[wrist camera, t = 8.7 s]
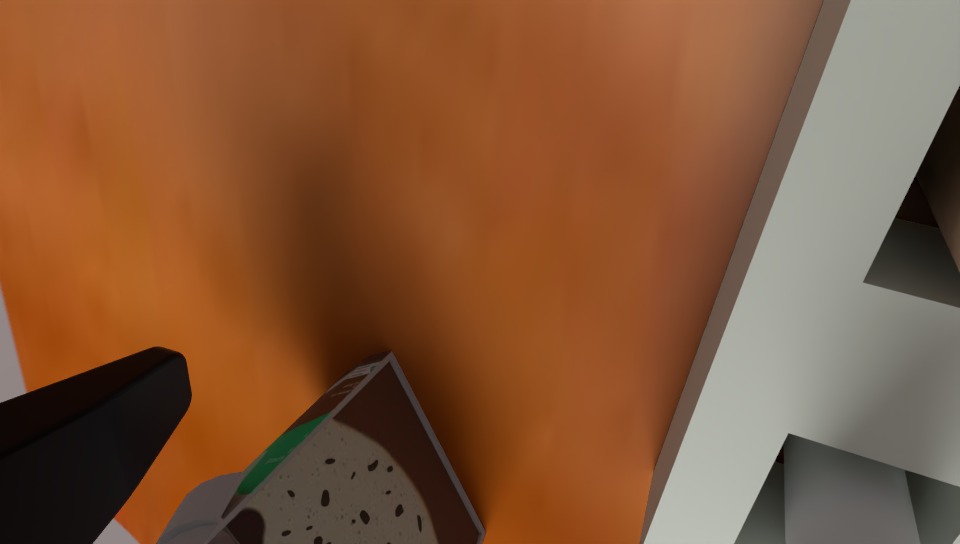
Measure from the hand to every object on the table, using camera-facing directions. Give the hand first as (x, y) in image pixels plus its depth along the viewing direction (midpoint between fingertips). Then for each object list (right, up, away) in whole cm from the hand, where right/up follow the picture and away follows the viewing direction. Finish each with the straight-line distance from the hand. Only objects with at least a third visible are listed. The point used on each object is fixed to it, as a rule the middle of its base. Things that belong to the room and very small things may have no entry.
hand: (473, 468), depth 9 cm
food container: (-4, -5, +20) cm, 21 cm away
